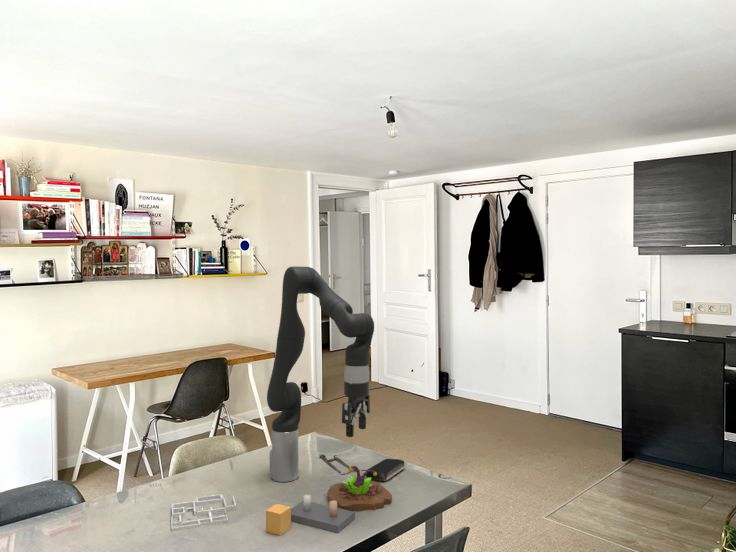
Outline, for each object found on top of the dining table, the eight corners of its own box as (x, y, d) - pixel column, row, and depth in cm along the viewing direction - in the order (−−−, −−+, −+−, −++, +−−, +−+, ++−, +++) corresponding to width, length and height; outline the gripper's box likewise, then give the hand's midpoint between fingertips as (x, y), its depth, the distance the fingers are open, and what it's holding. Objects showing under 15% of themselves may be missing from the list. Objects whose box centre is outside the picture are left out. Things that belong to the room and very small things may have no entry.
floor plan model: (230, 490, 189) (230, 484, 189) (239, 522, 165) (239, 515, 165) (171, 497, 183) (171, 491, 183) (171, 532, 159) (171, 525, 159)
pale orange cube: (266, 531, 159) (265, 510, 159) (276, 524, 163) (276, 503, 163) (280, 535, 157) (280, 514, 156) (290, 527, 161) (290, 507, 161)
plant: (319, 492, 187) (319, 458, 187) (373, 483, 194) (374, 451, 194) (339, 517, 168) (339, 480, 168) (398, 507, 176) (398, 471, 175)
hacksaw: (318, 458, 220) (318, 454, 220) (342, 453, 225) (342, 450, 225) (344, 479, 198) (344, 474, 198) (370, 474, 203) (370, 469, 203)
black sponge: (384, 484, 193) (384, 474, 193) (363, 479, 198) (363, 469, 197) (406, 470, 207) (406, 460, 207) (386, 465, 212) (386, 456, 211)
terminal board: (285, 519, 166) (285, 499, 166) (303, 506, 175) (303, 487, 175) (338, 533, 158) (338, 511, 158) (354, 518, 167) (355, 498, 167)
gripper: (355, 374, 178) (355, 424, 179) (334, 382, 166) (333, 437, 166) (377, 376, 175) (377, 428, 176) (357, 385, 162) (356, 441, 163)
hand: (356, 432), depth 171 cm, fingers open, 8 cm apart
